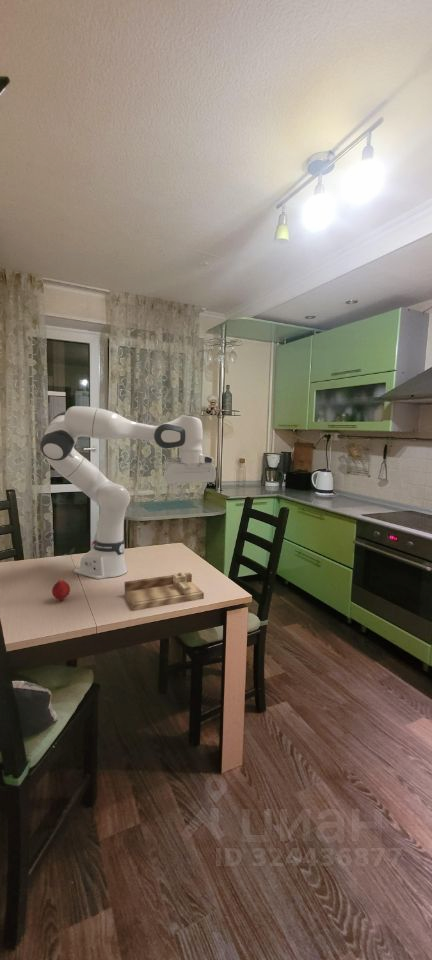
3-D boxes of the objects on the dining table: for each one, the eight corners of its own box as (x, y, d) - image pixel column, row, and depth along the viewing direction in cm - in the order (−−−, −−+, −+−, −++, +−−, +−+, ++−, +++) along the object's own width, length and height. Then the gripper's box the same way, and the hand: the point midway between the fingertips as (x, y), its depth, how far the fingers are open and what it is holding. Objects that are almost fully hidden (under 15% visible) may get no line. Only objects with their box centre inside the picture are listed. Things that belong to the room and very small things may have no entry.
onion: (59, 605, 131) (58, 582, 131) (48, 601, 134) (48, 579, 134) (73, 599, 136) (73, 577, 136) (63, 595, 139) (62, 574, 139)
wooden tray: (133, 610, 129) (133, 596, 128) (124, 594, 142) (124, 581, 141) (203, 598, 140) (203, 585, 140) (189, 584, 153) (189, 572, 152)
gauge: (182, 595, 137) (182, 581, 137) (173, 585, 146) (173, 572, 146) (192, 593, 139) (192, 579, 139) (182, 584, 148) (182, 570, 148)
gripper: (166, 458, 137) (166, 496, 138) (218, 458, 145) (217, 494, 147) (161, 457, 142) (161, 494, 144) (211, 457, 151) (210, 492, 153)
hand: (189, 494), depth 145 cm, fingers open, 8 cm apart
